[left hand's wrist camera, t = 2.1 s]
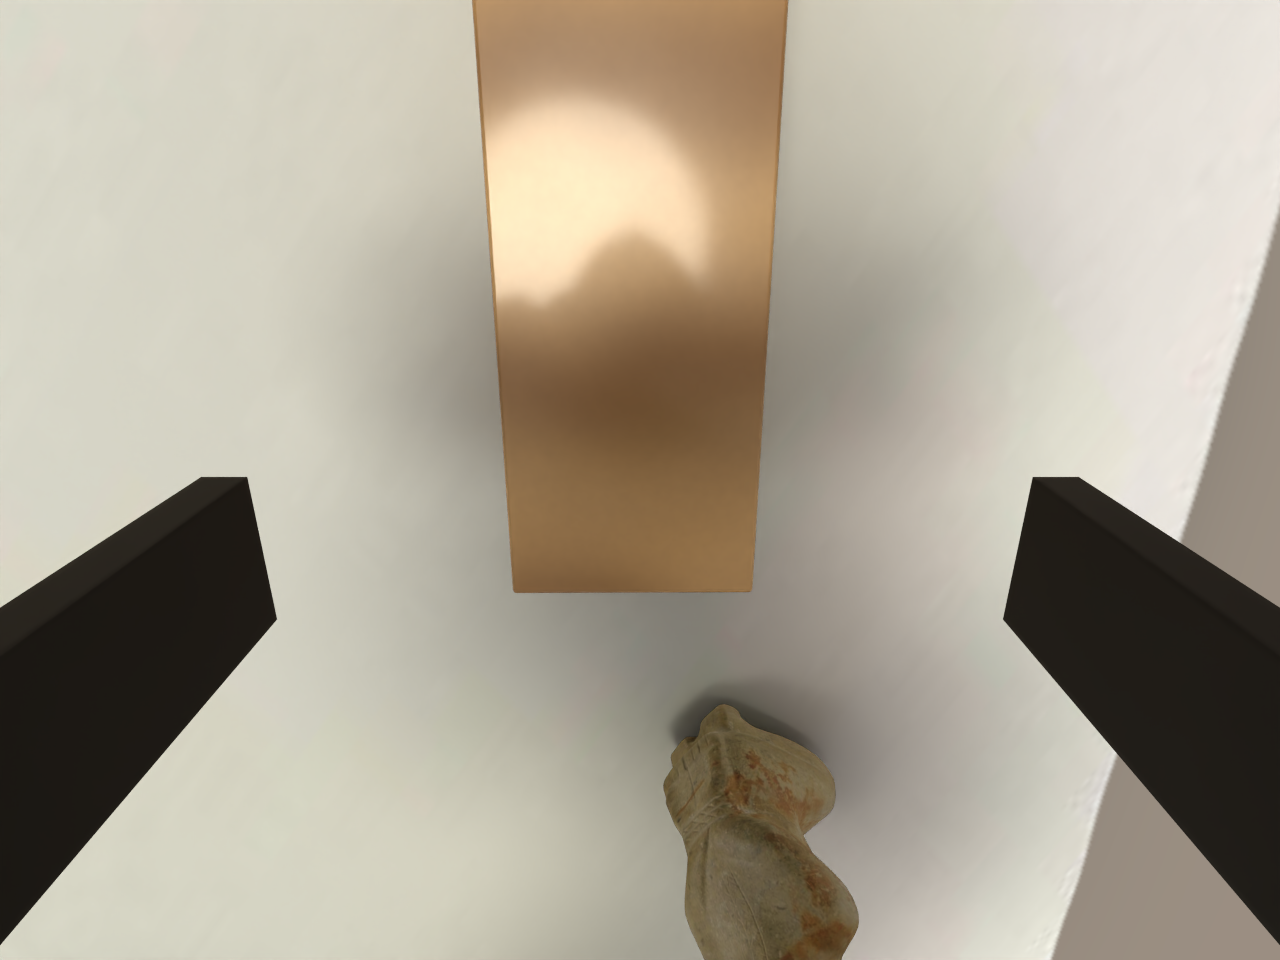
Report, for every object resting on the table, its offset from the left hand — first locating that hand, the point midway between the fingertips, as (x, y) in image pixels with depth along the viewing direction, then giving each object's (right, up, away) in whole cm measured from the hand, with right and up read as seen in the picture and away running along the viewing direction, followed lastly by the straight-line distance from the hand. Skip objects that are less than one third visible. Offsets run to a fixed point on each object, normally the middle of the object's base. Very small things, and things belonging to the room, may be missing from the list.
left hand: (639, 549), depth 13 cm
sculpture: (+5, -11, +20) cm, 23 cm away
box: (0, +12, +12) cm, 16 cm away
